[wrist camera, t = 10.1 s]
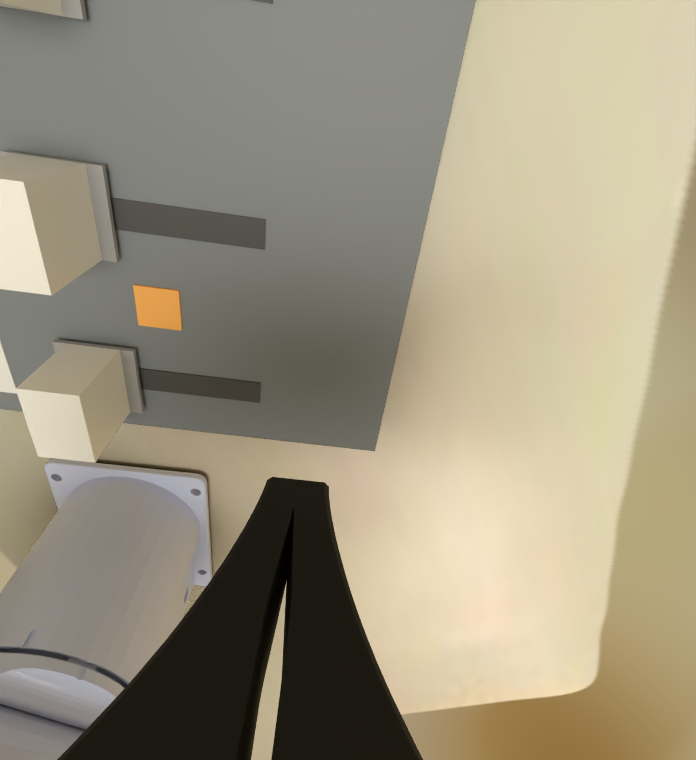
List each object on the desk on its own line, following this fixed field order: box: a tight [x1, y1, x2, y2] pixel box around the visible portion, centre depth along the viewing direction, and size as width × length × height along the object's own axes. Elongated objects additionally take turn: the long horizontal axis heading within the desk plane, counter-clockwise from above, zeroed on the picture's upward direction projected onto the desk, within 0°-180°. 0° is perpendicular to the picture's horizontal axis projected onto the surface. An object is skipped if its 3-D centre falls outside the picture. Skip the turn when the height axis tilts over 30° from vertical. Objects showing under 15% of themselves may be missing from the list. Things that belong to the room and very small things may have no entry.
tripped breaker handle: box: [0, 150, 119, 295], centre depth 13 cm, size 3×3×3 cm
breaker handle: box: [15, 339, 144, 463], centre depth 17 cm, size 3×3×3 cm
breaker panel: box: [0, 0, 476, 451], centre depth 15 cm, size 18×18×2 cm
